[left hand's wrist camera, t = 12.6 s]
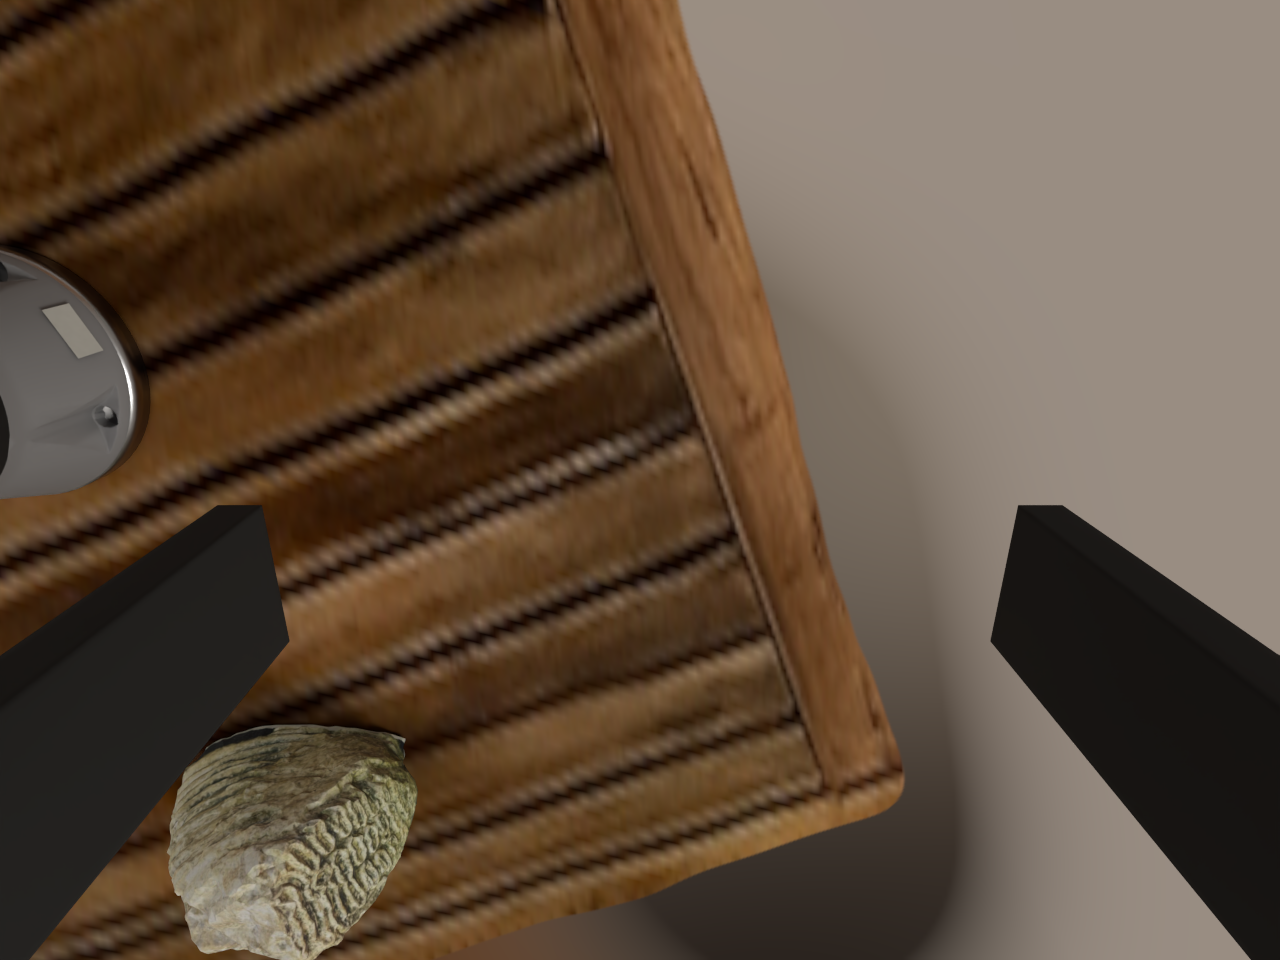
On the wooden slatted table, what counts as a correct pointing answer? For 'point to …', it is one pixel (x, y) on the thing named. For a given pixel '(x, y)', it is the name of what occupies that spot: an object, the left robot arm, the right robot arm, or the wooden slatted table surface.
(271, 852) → the fossil
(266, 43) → the wooden slatted table surface
